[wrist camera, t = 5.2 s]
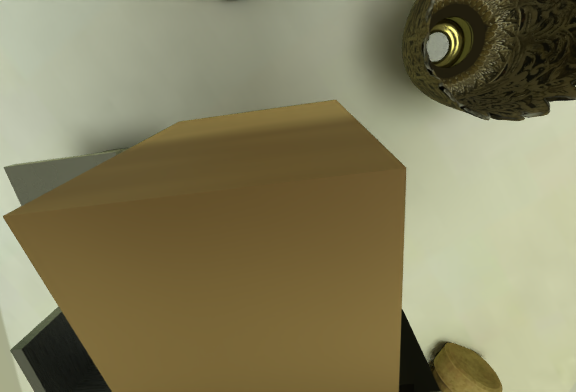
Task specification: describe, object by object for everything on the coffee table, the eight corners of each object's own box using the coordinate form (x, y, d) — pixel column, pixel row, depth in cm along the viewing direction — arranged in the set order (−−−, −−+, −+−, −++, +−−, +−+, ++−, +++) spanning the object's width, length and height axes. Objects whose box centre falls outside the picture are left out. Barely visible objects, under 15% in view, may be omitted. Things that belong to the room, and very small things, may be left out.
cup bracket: (119, 251, 23) (10, 350, 14) (197, 242, 23) (134, 339, 14) (138, 302, 25) (50, 419, 16) (211, 295, 25) (163, 411, 16)
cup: (363, 0, 17) (415, -71, 10) (493, -46, 16) (663, -165, 9) (386, 124, 20) (444, 145, 12) (502, 90, 19) (642, 88, 11)
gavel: (215, 387, 24) (258, 295, 21) (230, 344, 28) (268, 262, 25) (443, 477, 25) (516, 401, 22) (424, 421, 29) (483, 352, 26)
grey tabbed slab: (84, 146, 21) (3, 167, 15) (166, 135, 20) (115, 151, 14) (103, 199, 22) (36, 236, 16) (180, 190, 21) (139, 224, 16)
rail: (179, 121, 7) (2, 216, 3) (335, 99, 7) (406, 167, 3) (261, 404, 12) (242, 600, 8) (355, 398, 12) (392, 598, 8)
